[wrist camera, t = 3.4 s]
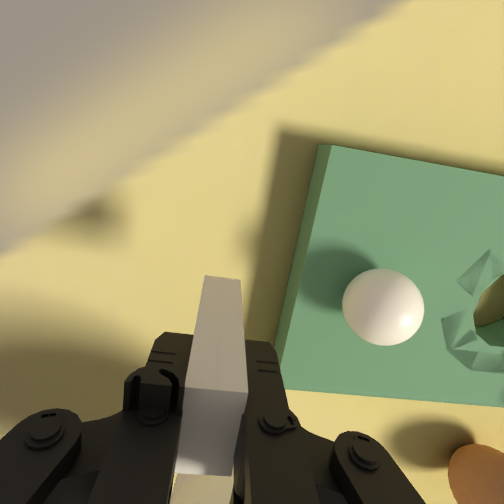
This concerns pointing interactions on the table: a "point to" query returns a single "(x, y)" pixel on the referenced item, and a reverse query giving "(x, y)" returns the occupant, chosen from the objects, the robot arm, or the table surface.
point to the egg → (477, 475)
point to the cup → (202, 489)
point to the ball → (383, 307)
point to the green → (407, 263)
